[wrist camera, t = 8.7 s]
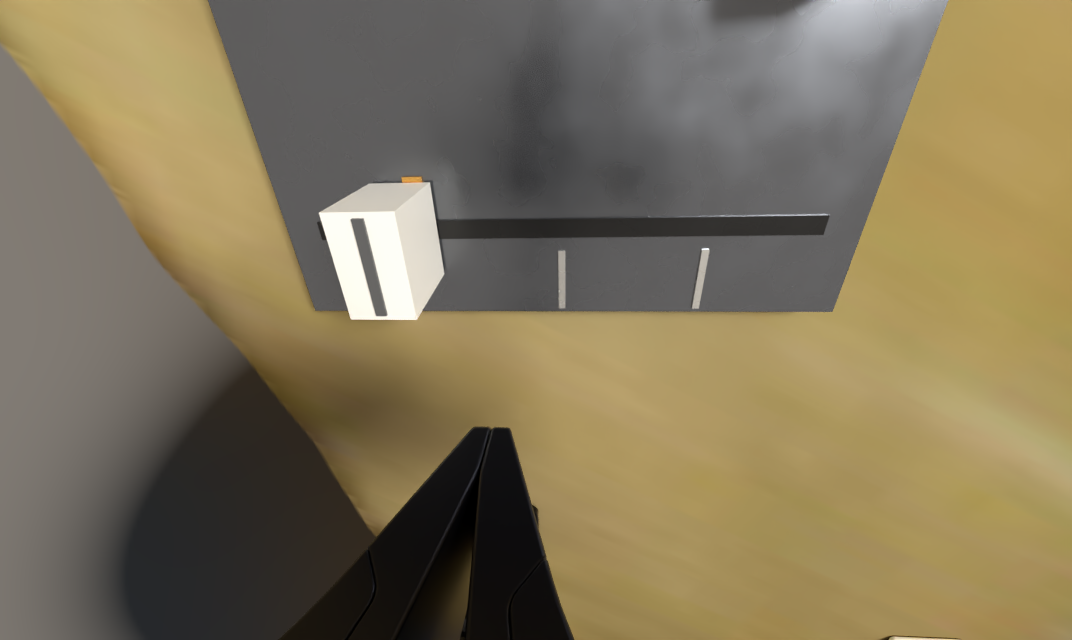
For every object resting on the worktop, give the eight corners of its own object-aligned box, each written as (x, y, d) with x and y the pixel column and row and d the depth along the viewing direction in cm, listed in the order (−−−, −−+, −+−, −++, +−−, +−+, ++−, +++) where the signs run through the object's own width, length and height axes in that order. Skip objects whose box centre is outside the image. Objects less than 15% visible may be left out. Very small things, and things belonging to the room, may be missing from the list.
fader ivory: (444, 274, 19) (415, 321, 15) (390, 274, 19) (349, 320, 16) (429, 182, 17) (393, 212, 13) (369, 183, 17) (317, 213, 14)
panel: (815, 296, 20) (834, 312, 19) (330, 296, 22) (314, 311, 20) (1026, -325, 11) (1094, -383, 9) (160, -236, 13) (110, -274, 11)
